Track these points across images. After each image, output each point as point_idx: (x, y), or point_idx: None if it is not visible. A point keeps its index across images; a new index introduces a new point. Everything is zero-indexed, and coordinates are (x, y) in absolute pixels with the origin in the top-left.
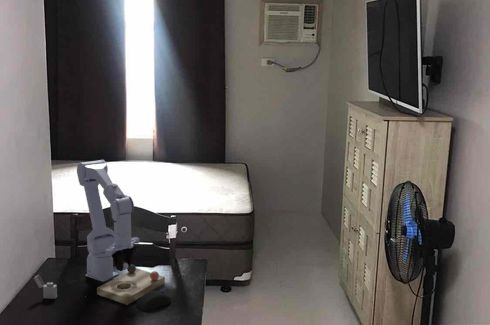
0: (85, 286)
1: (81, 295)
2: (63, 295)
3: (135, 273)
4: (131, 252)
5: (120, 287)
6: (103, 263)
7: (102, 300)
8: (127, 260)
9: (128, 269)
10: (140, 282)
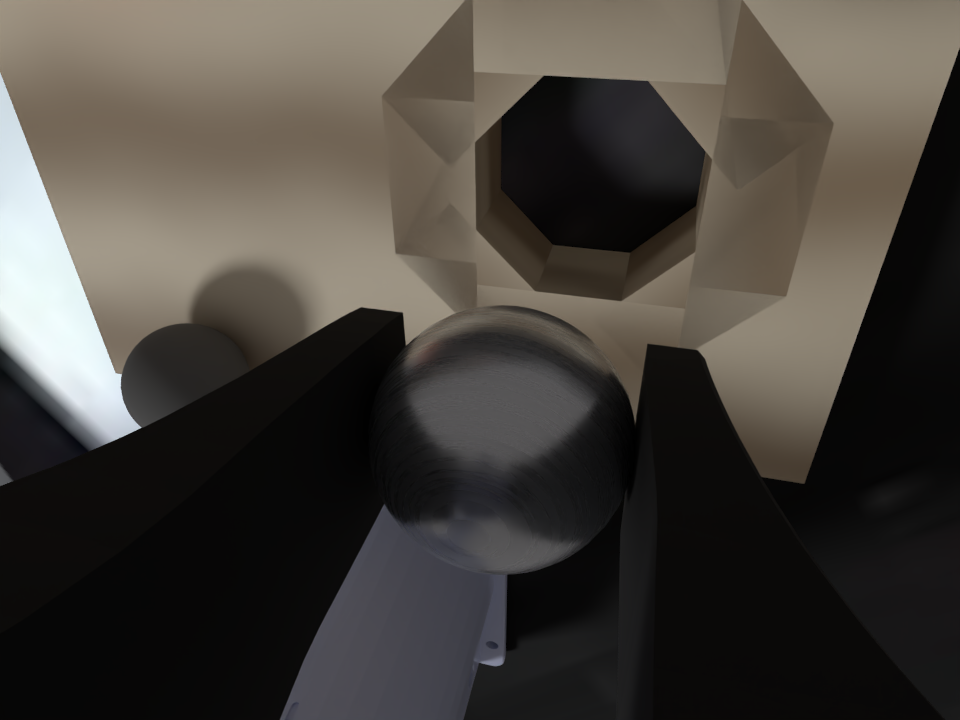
0: None
1: (885, 538)
2: (946, 661)
3: (197, 299)
4: (9, 649)
5: (555, 265)
6: (404, 685)
7: (942, 278)
8: (322, 475)
9: None
10: (326, 44)
